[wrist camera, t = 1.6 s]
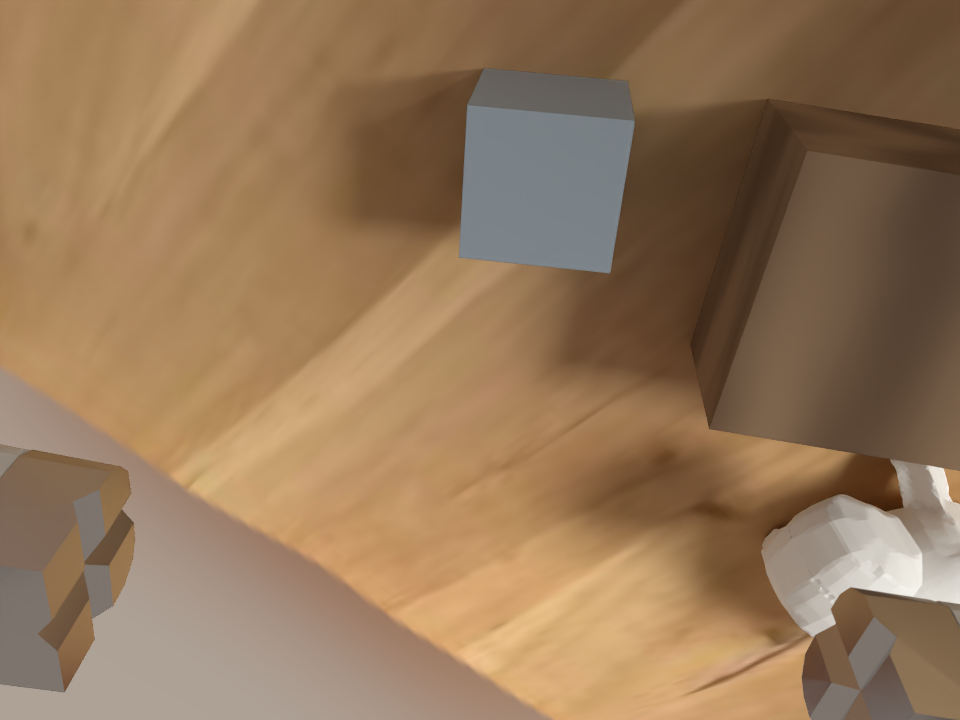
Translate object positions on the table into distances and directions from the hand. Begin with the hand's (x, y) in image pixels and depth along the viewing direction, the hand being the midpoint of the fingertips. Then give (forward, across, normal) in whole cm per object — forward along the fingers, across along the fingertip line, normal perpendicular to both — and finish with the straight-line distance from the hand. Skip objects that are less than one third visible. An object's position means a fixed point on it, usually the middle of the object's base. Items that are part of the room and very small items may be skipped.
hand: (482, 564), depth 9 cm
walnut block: (+22, -14, +4) cm, 27 cm away
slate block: (+23, -1, +2) cm, 23 cm away
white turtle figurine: (+22, -20, +16) cm, 34 cm away
